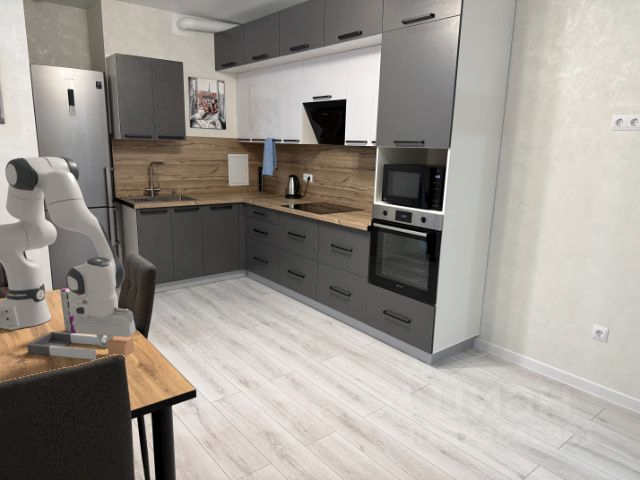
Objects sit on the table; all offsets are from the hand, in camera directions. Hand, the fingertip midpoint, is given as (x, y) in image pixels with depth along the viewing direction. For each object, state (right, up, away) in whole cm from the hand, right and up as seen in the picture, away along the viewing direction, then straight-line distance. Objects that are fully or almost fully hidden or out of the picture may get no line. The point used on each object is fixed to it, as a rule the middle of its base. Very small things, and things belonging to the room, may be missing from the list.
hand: (106, 346), depth 149 cm
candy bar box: (-19, +2, +20) cm, 28 cm away
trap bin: (-21, -1, +4) cm, 21 cm away
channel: (-9, -2, +2) cm, 9 cm away
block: (+5, -2, 0) cm, 6 cm away
